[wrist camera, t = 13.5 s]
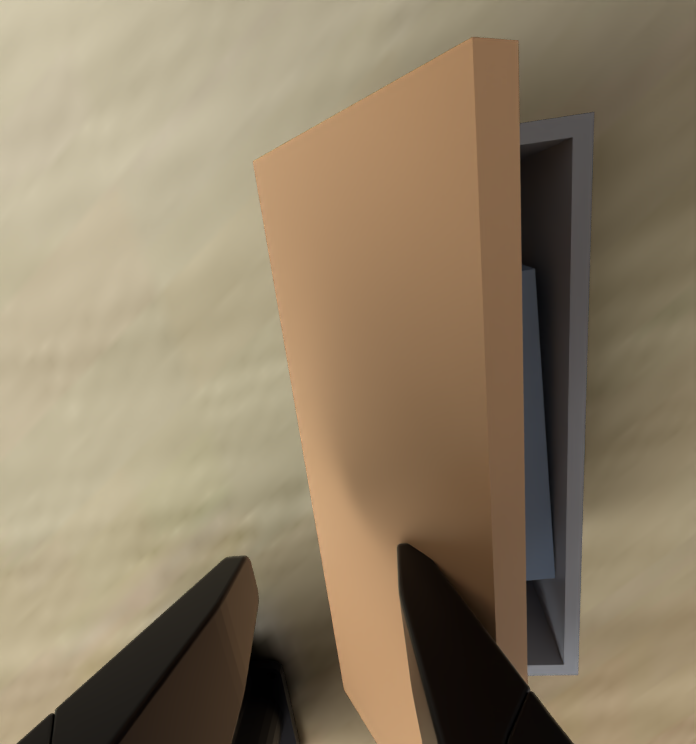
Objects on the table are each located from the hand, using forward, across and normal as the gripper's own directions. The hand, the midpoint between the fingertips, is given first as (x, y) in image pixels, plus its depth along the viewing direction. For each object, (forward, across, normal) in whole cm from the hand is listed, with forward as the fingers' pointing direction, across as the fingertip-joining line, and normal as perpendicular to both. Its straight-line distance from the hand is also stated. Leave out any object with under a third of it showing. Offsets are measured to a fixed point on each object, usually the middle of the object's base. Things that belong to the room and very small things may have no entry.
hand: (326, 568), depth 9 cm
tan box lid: (+1, -1, 0) cm, 2 cm away
